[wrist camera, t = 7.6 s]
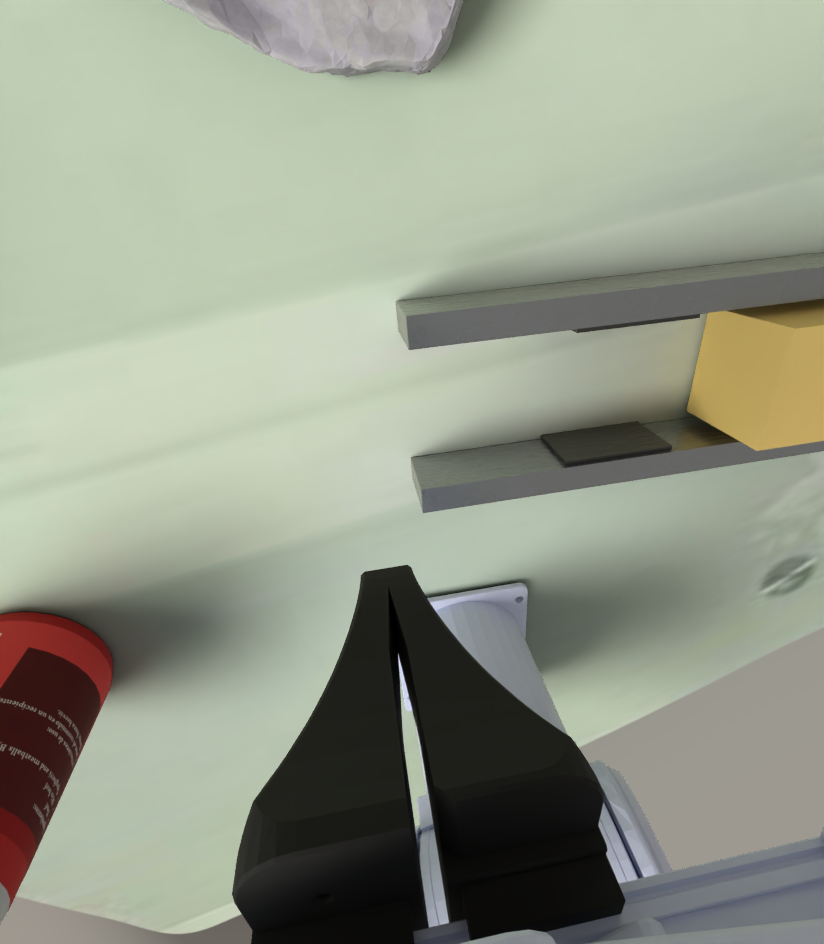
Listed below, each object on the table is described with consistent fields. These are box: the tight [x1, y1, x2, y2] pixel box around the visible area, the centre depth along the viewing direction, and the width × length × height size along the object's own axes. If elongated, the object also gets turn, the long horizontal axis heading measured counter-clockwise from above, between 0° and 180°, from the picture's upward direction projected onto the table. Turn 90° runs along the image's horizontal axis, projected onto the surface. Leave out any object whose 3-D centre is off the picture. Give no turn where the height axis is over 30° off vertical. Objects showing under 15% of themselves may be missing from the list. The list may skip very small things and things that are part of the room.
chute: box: [396, 252, 824, 513], centre depth 21 cm, size 8×25×3 cm, turn 95°
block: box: [687, 299, 824, 451], centre depth 21 cm, size 5×6×4 cm
